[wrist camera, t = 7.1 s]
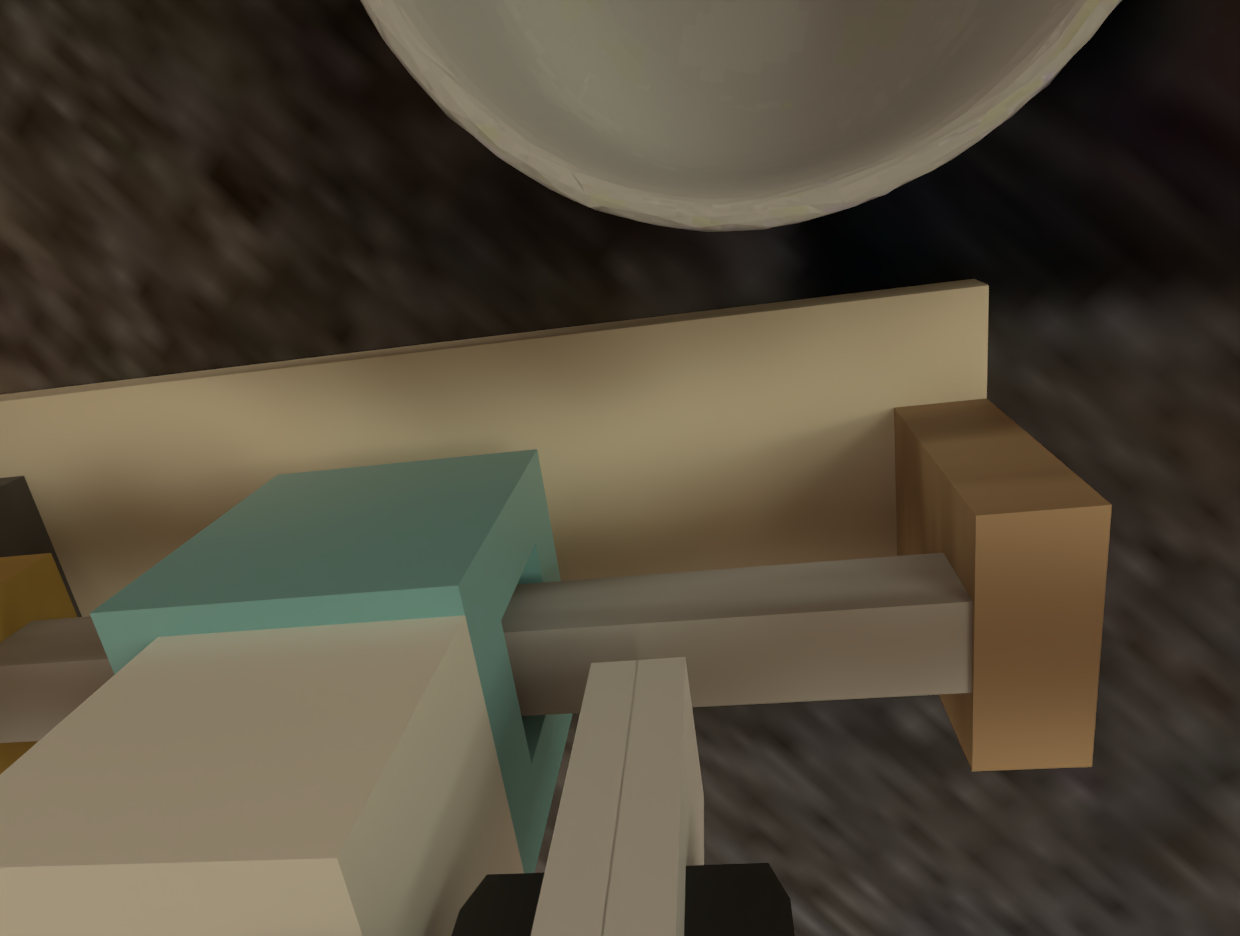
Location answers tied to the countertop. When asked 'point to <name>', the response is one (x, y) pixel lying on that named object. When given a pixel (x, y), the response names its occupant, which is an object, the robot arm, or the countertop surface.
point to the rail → (629, 508)
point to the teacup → (731, 93)
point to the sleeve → (301, 720)
